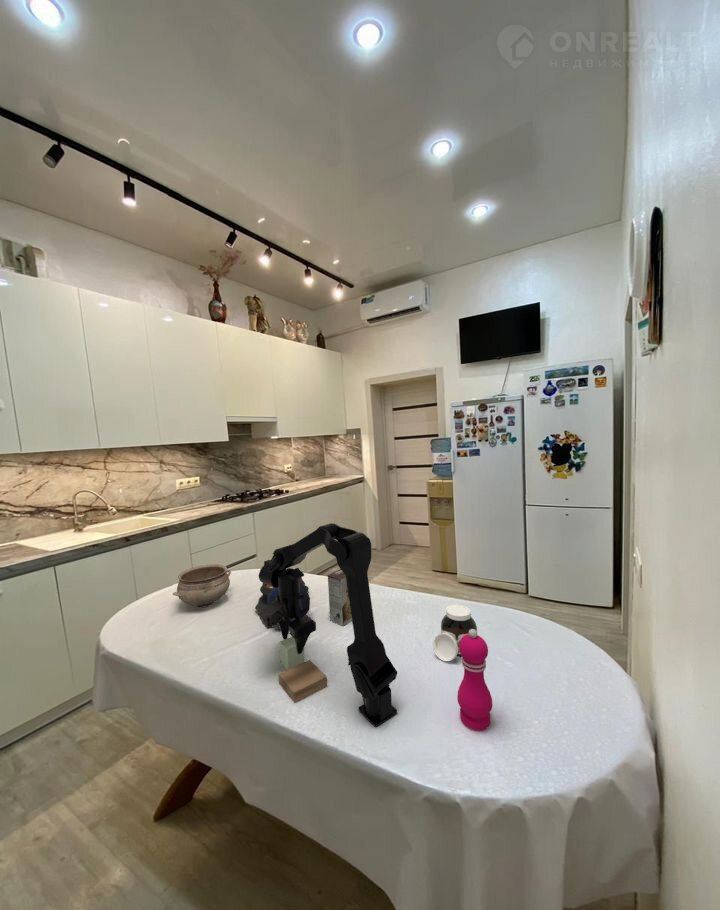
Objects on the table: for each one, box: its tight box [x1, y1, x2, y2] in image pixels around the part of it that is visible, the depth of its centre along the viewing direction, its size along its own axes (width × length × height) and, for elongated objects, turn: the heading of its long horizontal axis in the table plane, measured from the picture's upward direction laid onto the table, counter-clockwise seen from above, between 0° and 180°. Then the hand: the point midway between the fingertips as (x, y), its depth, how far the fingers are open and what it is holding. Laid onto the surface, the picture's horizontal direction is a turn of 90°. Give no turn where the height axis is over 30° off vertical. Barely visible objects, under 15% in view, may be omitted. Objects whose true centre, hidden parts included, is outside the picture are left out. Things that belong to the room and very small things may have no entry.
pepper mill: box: [456, 629, 493, 732], centre depth 77 cm, size 7×7×20 cm
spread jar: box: [432, 604, 478, 662], centre depth 101 cm, size 12×11×12 cm
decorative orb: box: [267, 582, 311, 617], centre depth 122 cm, size 14×15×15 cm
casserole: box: [254, 577, 310, 612], centre depth 138 cm, size 25×19×8 cm
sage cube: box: [279, 636, 306, 670], centre depth 100 cm, size 5×5×6 cm
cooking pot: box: [172, 563, 232, 608], centre depth 140 cm, size 25×19×12 cm
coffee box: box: [327, 568, 352, 627], centre depth 123 cm, size 9×6×16 cm
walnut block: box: [278, 659, 328, 704], centre depth 91 cm, size 9×9×3 cm
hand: (292, 646), depth 100 cm, fingers open, 9 cm apart
